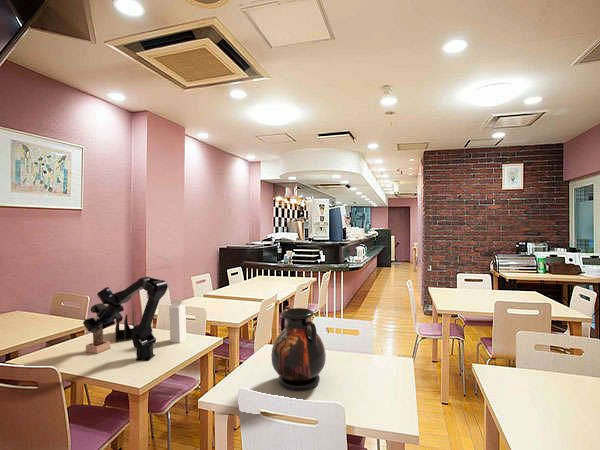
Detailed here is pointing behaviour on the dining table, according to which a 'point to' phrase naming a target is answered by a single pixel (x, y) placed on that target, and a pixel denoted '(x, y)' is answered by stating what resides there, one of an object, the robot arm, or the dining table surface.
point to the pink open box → (98, 347)
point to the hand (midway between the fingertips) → (96, 330)
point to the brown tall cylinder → (98, 335)
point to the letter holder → (125, 330)
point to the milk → (177, 321)
